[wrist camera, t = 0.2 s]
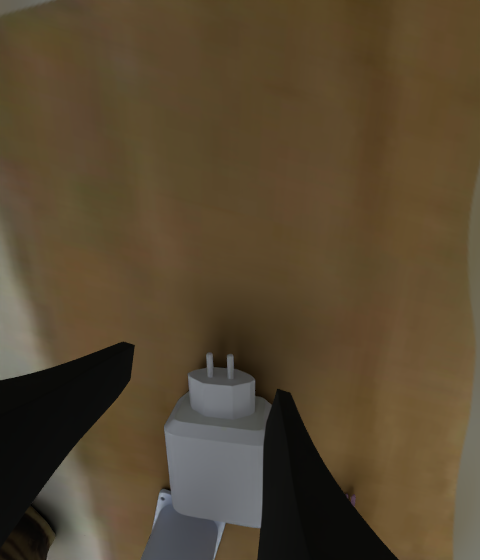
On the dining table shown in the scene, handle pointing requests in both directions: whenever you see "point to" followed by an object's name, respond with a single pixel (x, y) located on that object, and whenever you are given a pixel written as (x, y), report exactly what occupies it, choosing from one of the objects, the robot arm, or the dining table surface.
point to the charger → (218, 446)
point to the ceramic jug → (28, 538)
